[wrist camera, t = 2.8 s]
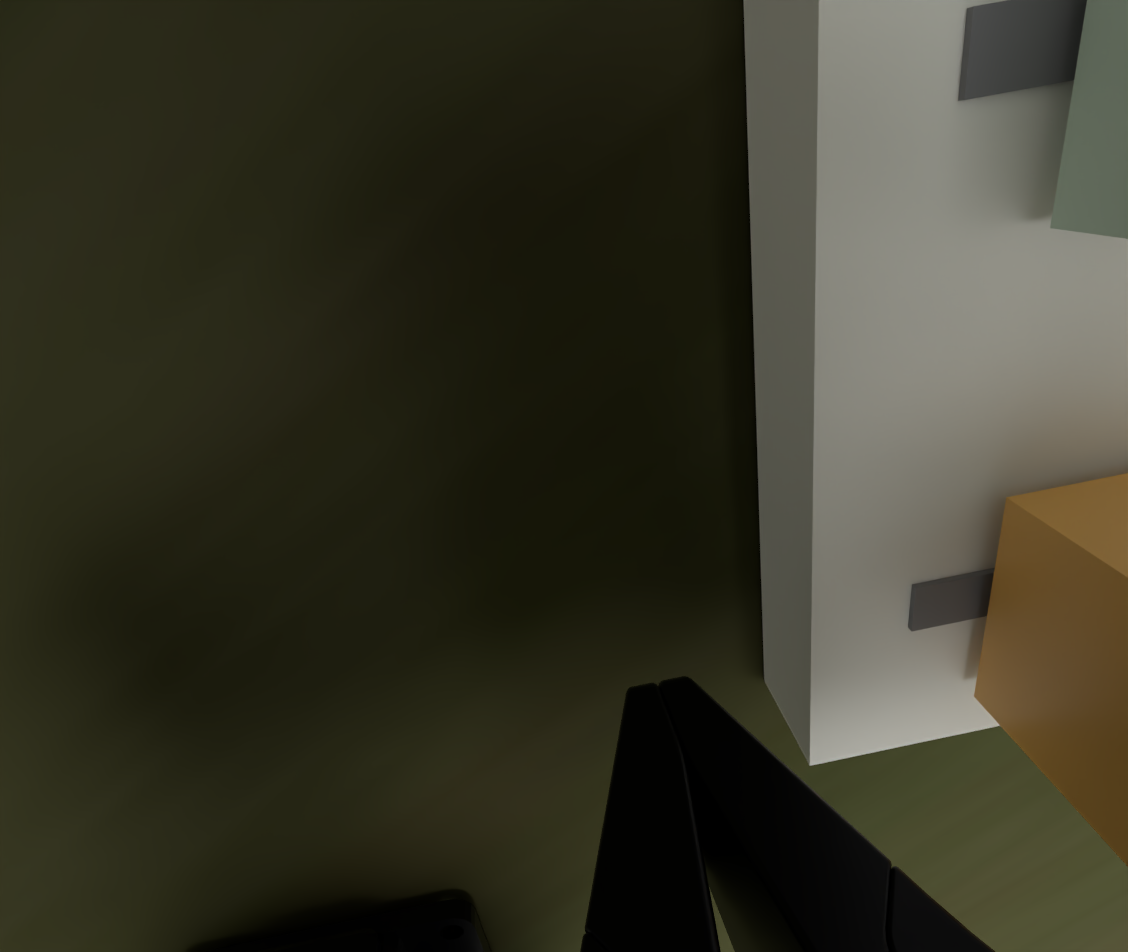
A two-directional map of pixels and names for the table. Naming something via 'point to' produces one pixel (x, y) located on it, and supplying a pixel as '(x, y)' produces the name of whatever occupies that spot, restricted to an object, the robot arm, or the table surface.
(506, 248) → the table surface
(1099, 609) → the amber fader
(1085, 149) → the sage fader
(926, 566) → the mixer console
